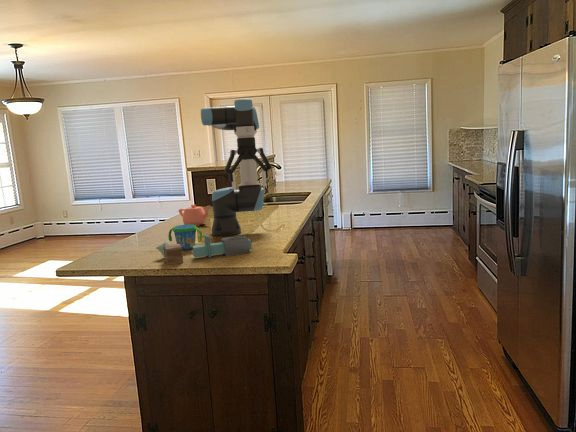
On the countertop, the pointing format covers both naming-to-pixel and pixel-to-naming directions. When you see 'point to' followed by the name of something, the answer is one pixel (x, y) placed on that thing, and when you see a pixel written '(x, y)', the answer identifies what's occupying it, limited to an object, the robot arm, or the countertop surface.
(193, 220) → the teapot
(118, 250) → the countertop surface
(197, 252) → the tube
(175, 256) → the socket block
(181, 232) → the snack cup
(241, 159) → the robot arm
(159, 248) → the robot head
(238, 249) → the sleeve
